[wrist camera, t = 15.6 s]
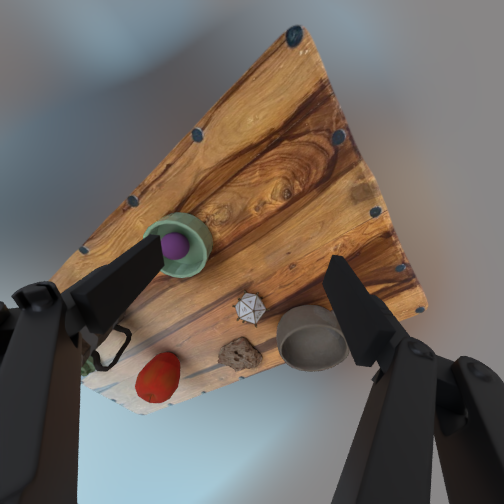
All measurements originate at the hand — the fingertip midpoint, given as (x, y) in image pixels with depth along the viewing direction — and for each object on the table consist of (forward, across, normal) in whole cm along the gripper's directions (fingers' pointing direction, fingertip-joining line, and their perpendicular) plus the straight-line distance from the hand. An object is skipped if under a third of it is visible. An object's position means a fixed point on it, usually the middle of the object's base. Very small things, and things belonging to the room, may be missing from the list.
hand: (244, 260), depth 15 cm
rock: (+26, 0, -53) cm, 59 cm away
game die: (+26, +1, -28) cm, 38 cm away
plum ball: (+22, -16, -12) cm, 30 cm away
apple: (+26, -24, -58) cm, 68 cm away
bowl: (+26, +17, -33) cm, 46 cm away
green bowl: (+26, -16, -13) cm, 33 cm away
